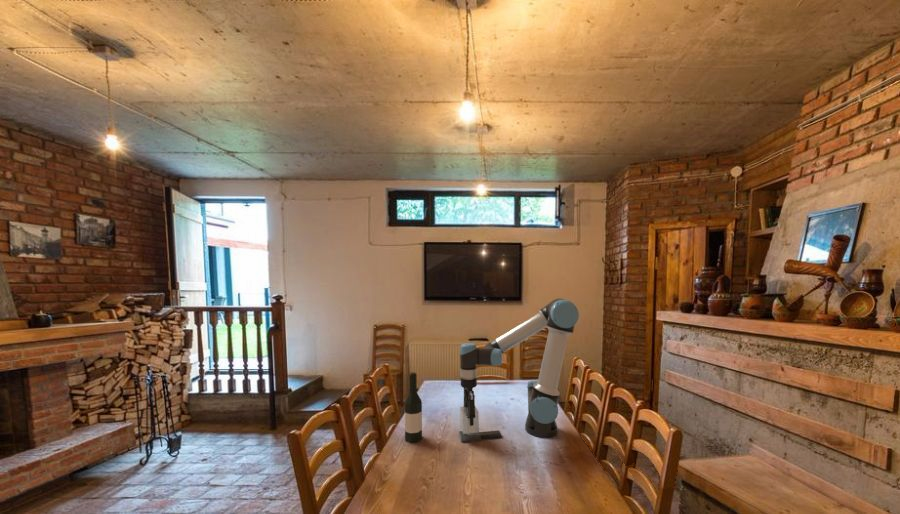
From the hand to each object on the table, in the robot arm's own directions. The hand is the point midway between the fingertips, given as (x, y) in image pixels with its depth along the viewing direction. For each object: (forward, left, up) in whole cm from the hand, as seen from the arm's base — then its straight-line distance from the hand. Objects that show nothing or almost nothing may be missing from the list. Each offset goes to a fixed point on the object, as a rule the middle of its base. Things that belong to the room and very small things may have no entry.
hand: (469, 428), depth 151 cm
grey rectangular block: (0, 0, -1) cm, 1 cm away
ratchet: (-5, -1, -5) cm, 7 cm away
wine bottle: (+26, +2, -5) cm, 27 cm away
